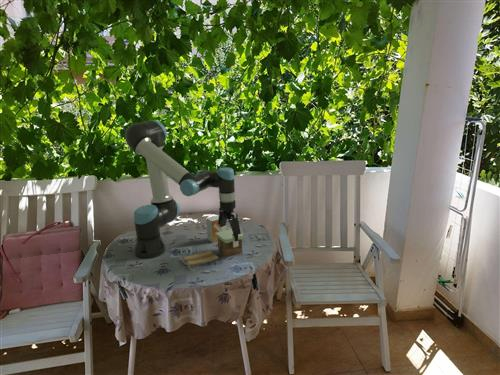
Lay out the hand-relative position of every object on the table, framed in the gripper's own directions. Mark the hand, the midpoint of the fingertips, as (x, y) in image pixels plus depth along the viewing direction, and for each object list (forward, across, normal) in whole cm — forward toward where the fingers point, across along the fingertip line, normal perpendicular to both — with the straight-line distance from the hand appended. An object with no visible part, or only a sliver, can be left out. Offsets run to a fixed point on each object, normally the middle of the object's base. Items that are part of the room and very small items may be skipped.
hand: (229, 242), depth 191 cm
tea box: (+6, 0, 0) cm, 6 cm away
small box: (+6, +18, -2) cm, 20 cm away
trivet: (+6, +2, +15) cm, 16 cm away
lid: (-3, 0, 0) cm, 3 cm away
